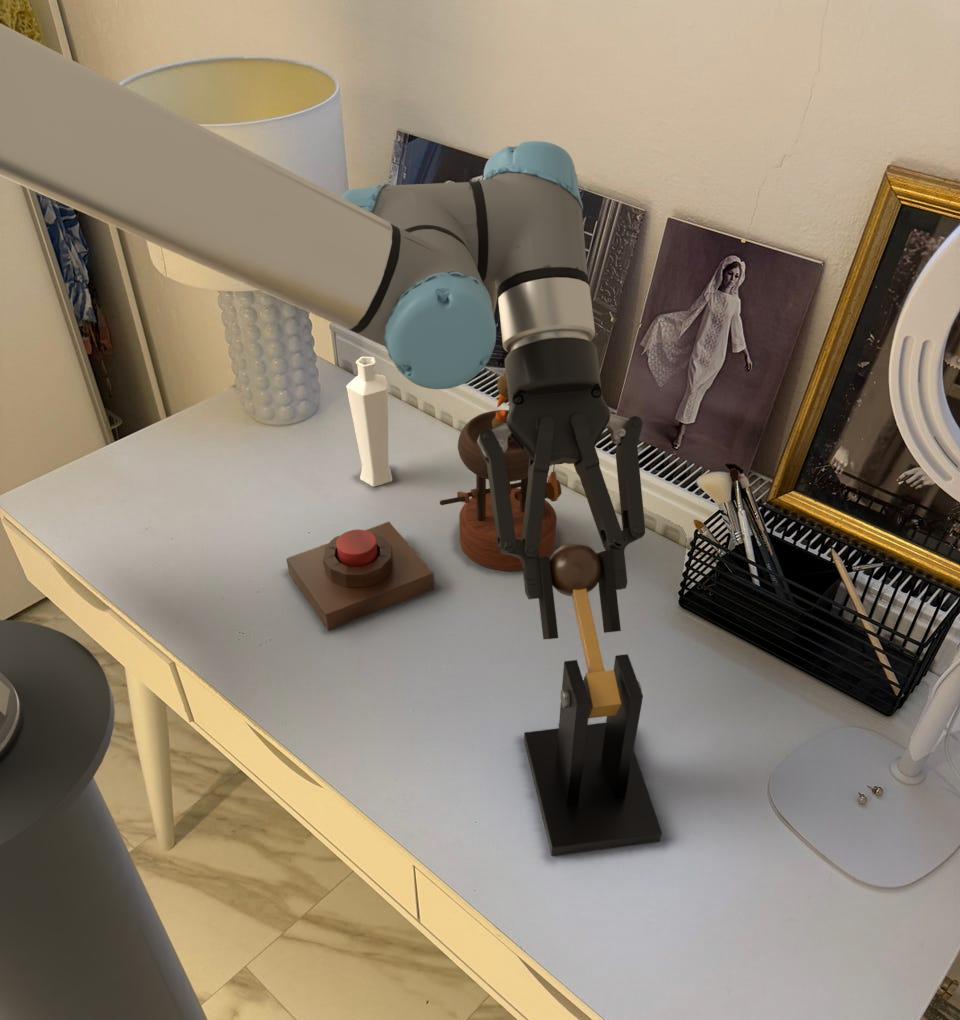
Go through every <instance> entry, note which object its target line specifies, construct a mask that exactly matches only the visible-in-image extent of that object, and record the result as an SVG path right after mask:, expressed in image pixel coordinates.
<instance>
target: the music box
mask: <svg viewBox="0 0 960 1020" xmlns="http://www.w3.org/2000/svg"><path fill="white" fill-rule="evenodd" d="M496 385H497V386H496V387H497V391H498V393H499V395H498V400H497V406H496V408H499V407H501V406H502V405H503V404H504V403H505V402H506V401H507V400H509V398H508V389H507V380H506V373H503V374H502V375H500V376H499V378H498V380H497V384H496ZM508 412H509V409H499V410H491V411H487V412H483V413H481V414H478V415H476V416H475V417H473V418H471V419H470V420H468V422H467V423H466V424H464V426H463V427H462V429H461V431H460V433H459V436H458V440H457V450H458V451H457V452H458V454H459V457H460V460H461V462H462V463H463V465H464V466H465V467H466V468H467V469H468V470H469V471H470V472H471V473H473V474H474V475H476V476H475V478H476V479H475V481H476V483H475V485H476V486H475V488H471V489H470V491H469V492H468V491H467V492H464V491H457V492H456V497H453V498H452V497H451V498H447V499H441V500H439V505H440V506H447V505H450V504H455V503H463V506H462V507H461V509H460V511H459V518H458V520H459V521H458V522H459V525H458V526H459V545H460V548H461V550H462V552H463V553H464V554H465V555H466V557H467V558H469V559H470V560H471V561H473V562H474V563H476V564H478V565H480V566H483V567H485V568H488V569H493V570H497V571H520V570H523V567H522V562H521V560H520V559H519V558H517V557H515V556H511V555H507V554H506V555H505V554H501V553H500V552H499V551H498V547H497V540H496V532H495V524H494V516H493V509H492V501H491V493H490V487H489V488H487V480H488V481H489V477H488V470H487V464H486V462H485V460H484V458H483V456H482V454H481V452H480V450H479V448H478V446H477V440H478V437H479V435H480V433H481V432H482V431H483V430H485V429H490V430H492V429H494V428H496V427H498V426H500V425H502V424H504V423H505V420H506V418H507V415H508ZM507 442H508V449H507V451H506V452H505V453H504V456H505V461H506V467H507V475H508V483H509V491H510V498H511V506H512V514H513V522H514V530H515V537H516V539H518V540H521V539H522V530H523V521H524V512H525V503H526V494H527V485H528V468H529V459H530V458H529V456H528V455H527V454H526V453H525V452H524V451H523V450H522V448H521V447H520V446H519V445H518V444H517V443H516V442H515V441H514V439H513V438H512V437H511V436H509V437H508V439H507ZM563 464H565V463H561V462H559V463H557V464H554V465H552V466H553V467H552V471H551V472H550V474H549V477H548V478H547V486H546V495H545V504H544V514H543V523H542V532H541V541H540V550H539V558H541V557H550V556H551V555H552V553H553V552H554V548H555V545H556V535H557V534H556V533H557V523H558V522H557V521H558V519H557V517H558V516H557V513H556V510H555V508H554V507H553V506H552V504H551V503H550V502H549V501H548V500H550V501H551V502H557V501H558V499H559V498H560V496H561V495H562V487H561V483H560V481H559V479H557V472H556V471H555V468H556V466H557V465H563ZM517 481H518V482H517ZM512 482H514V483H512ZM546 499H547V500H546Z"/></svg>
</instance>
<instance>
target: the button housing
mask: <svg viewBox="0 0 960 1020" xmlns="http://www.w3.org/2000/svg"><path fill="white" fill-rule="evenodd" d="M364 530H365V531H368V532H370V533H372V534H373V535H374V536H375V538H376V543H377V557H376V559H375V560H374V561H373V562H372V563H370V564H368V565H365V566H362V567H349V566H346V565H344V564H343V563H341V562H340V560H339V558H338V552H337V545H336V542H337V539H338V538H339V537H340V536H341V535H342V534H339V535H336V536H334V538H332V539H331V540H330V541H329V542H327V543H325V544H322V545H319V546H316V547H314V548H310V549H308V550H305V551H302V552H300V553H297V554H295V555H292V556H289V557H286V558H285V559H286V565H287V570H288V575H289V576H290V577H291V579H292V580H293V582H294V583H295V584H296V586H297V588H298V590H300V591H301V593H302V595H303V596H304V598H305V599H306V600H307V602H308V603H309V605H310V606H311V608H312V609H313V611H314V612H315V613H316V615H317V617H318V618H319V619H320V620H321V622H322V623H323V626H324V627H325V628H326V629H327V630H328V631H331V630H334V629H335V628H338V627H340V626H341V627H342V626H343V625H346V624H349V623H351V622H354V621H356V620H359V619H362V618H364V617H366V616H369V615H372V614H374V613H376V612H379V611H381V610H384V609H387V608H389V607H392V606H394V605H396V604H399V603H403V602H405V601H407V600H410V599H413V598H415V597H417V596H420V595H423V594H425V593H427V592H430V591H432V590H434V589H435V579H434V572H433V571H432V570H431V569H430V568H429V566H428V565H427V564H426V563H425V562H424V560H423V559H422V558H421V557H420V556H419V555H418V553H417V552H416V551H415V550H414V548H412V547H411V546H410V544H409V543H408V542H407V540H406V539H405V538H404V537H403V536H402V535H401V533H399V531H398V530H397V529H396V528H395V527H394V526H393V524H392V523H391V522H390V521H386V522H384V523H382V524H378V525H376V526H375V525H374V526H372V527H370V528H367V529H364Z"/></svg>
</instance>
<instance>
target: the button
mask: <svg viewBox="0 0 960 1020" xmlns="http://www.w3.org/2000/svg"><path fill="white" fill-rule="evenodd" d="M365 530H366V529H351V530H347V531H345V532H343V533H342V534H340V535H341V536H340V537H339V538H338V539H337V542H336V545H337V552H338V558H339V560H340V562H341V563H343V564H344V565H346V566H349V567H362V566H365V565H368V564H370V563H372V562H373V561H374V560H375V559H376V557H377V543H376V538H375V536H374V535H373V534H372V533H370V532H368V531H365Z"/></svg>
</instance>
